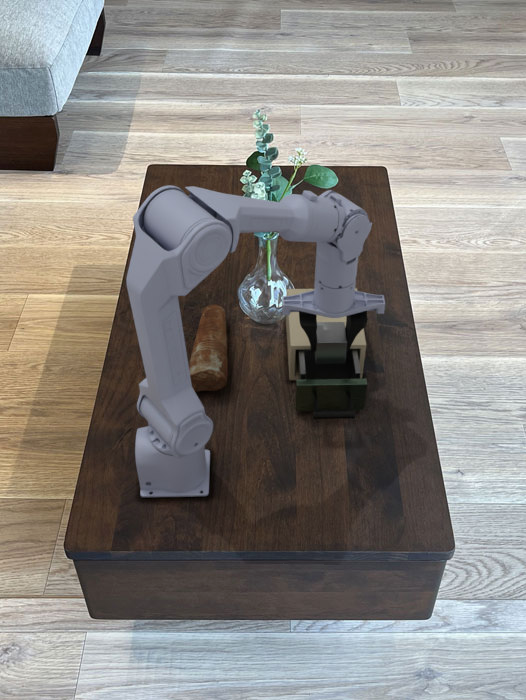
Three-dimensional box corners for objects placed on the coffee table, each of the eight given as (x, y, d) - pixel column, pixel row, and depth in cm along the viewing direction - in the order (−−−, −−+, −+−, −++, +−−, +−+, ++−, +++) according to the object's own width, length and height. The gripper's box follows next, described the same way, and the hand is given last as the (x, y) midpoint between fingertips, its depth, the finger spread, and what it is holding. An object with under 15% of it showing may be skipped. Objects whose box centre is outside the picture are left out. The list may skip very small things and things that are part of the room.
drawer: (367, 435, 118) (371, 409, 113) (297, 436, 117) (298, 410, 113) (355, 352, 130) (358, 326, 126) (291, 353, 130) (292, 327, 126)
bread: (186, 398, 124) (183, 373, 120) (200, 316, 138) (198, 292, 134) (226, 399, 124) (225, 374, 120) (236, 318, 137) (235, 293, 133)
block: (315, 363, 119) (317, 342, 116) (313, 343, 122) (315, 322, 119) (345, 363, 119) (347, 342, 116) (342, 342, 122) (344, 321, 119)
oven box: (362, 379, 127) (366, 344, 122) (289, 380, 127) (290, 346, 121) (353, 322, 137) (357, 287, 131) (286, 323, 136) (286, 288, 131)
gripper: (384, 257, 113) (374, 327, 122) (282, 258, 113) (280, 329, 122) (390, 289, 108) (380, 360, 117) (283, 290, 108) (282, 361, 117)
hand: (329, 346), depth 119 cm, fingers closed on block, 4 cm apart
